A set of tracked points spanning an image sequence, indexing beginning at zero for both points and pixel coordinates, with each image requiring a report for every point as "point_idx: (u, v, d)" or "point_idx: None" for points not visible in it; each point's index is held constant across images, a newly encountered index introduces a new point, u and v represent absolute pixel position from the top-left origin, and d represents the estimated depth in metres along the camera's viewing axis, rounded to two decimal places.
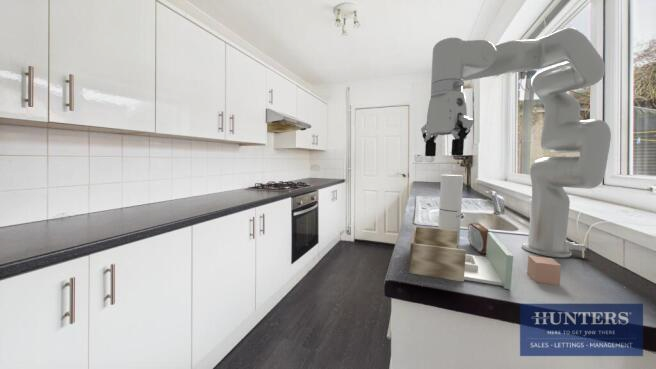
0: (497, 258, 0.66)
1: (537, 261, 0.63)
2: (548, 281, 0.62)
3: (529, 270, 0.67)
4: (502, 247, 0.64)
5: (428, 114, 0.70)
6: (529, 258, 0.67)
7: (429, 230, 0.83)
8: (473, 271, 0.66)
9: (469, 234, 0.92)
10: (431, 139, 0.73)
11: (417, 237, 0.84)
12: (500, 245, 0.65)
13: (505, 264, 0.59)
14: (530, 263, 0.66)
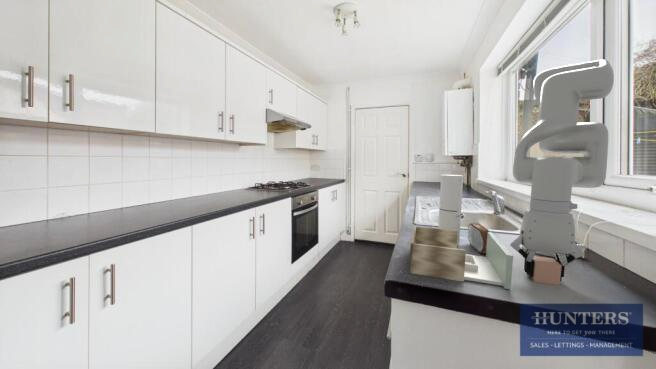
0: (497, 258, 0.66)
1: (537, 261, 0.63)
2: (548, 281, 0.62)
3: None
4: (502, 247, 0.64)
5: (531, 229, 0.63)
6: None
7: (429, 230, 0.83)
8: (473, 271, 0.66)
9: (469, 234, 0.92)
10: None
11: (417, 237, 0.84)
12: (500, 245, 0.65)
13: (505, 264, 0.59)
14: None
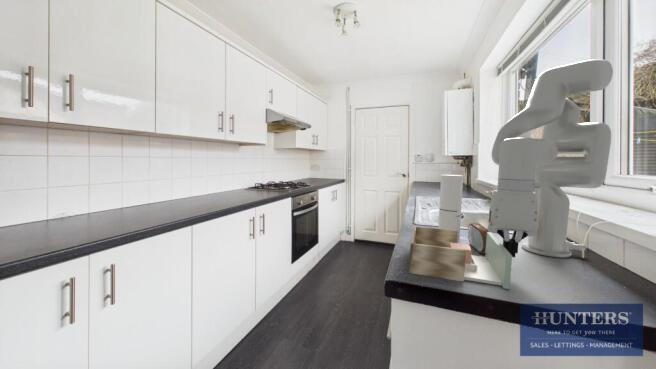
0: (496, 258, 0.66)
1: (452, 247, 0.70)
2: None
3: None
4: (501, 247, 0.64)
5: (498, 208, 0.65)
6: None
7: (429, 230, 0.83)
8: (472, 271, 0.66)
9: (469, 234, 0.92)
10: None
11: (417, 237, 0.84)
12: (499, 245, 0.65)
13: (504, 264, 0.59)
14: None
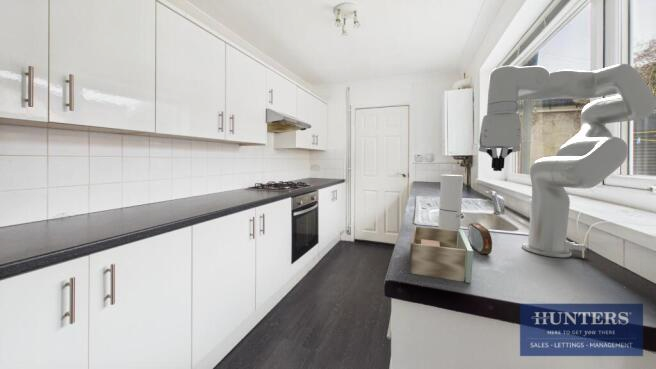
0: None
1: (422, 243, 0.73)
2: None
3: None
4: (466, 243, 0.67)
5: (487, 128, 0.77)
6: (421, 241, 0.77)
7: (429, 230, 0.83)
8: None
9: (469, 234, 0.92)
10: None
11: (417, 237, 0.84)
12: (465, 241, 0.68)
13: (466, 259, 0.62)
14: None
